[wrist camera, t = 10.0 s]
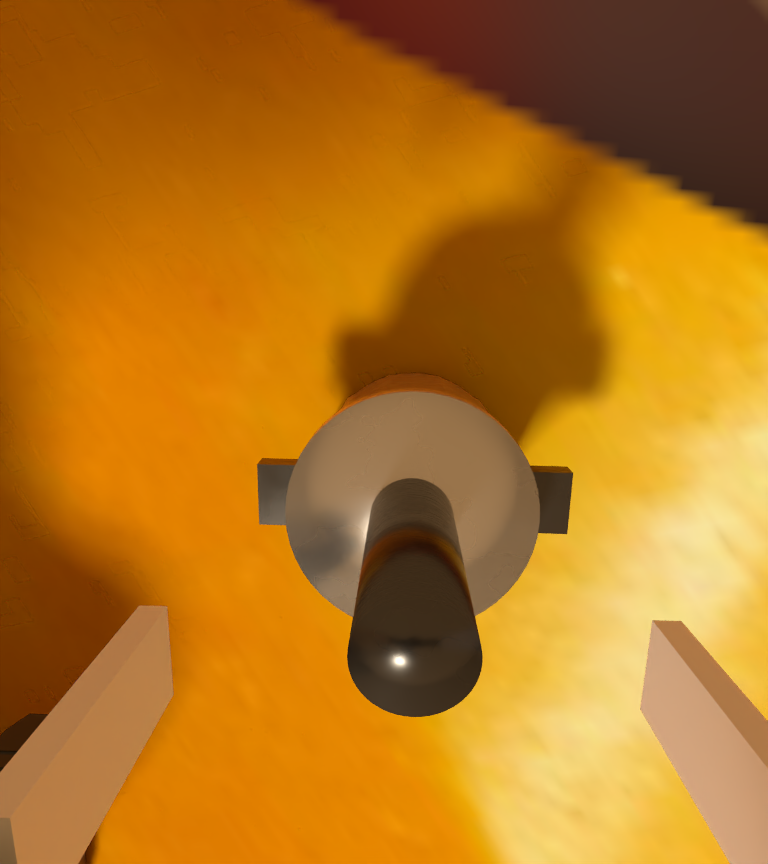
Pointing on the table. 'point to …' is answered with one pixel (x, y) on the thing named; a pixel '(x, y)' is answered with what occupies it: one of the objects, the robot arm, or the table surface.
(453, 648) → the lid
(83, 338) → the table surface
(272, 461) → the pot
